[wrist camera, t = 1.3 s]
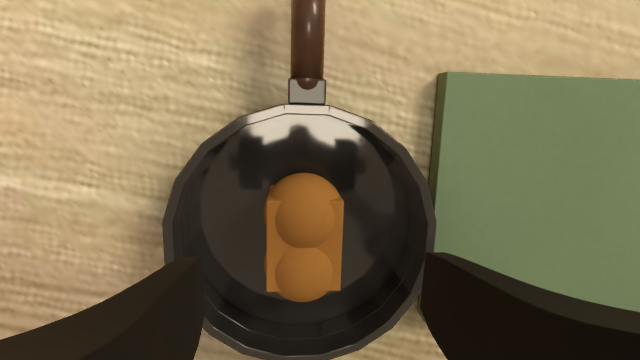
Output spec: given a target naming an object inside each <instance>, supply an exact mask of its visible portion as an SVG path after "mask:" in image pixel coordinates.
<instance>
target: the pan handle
mask: <svg viewBox="0 0 640 360" xmlns="http://www.w3.org/2000/svg"><path fill="white" fill-rule="evenodd" d="M324 34H325V0H292V1H291V77H290V78H289V80H288V103H289V104H311V105H325V101H326V80H325V79H323V67H324Z"/></svg>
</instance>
